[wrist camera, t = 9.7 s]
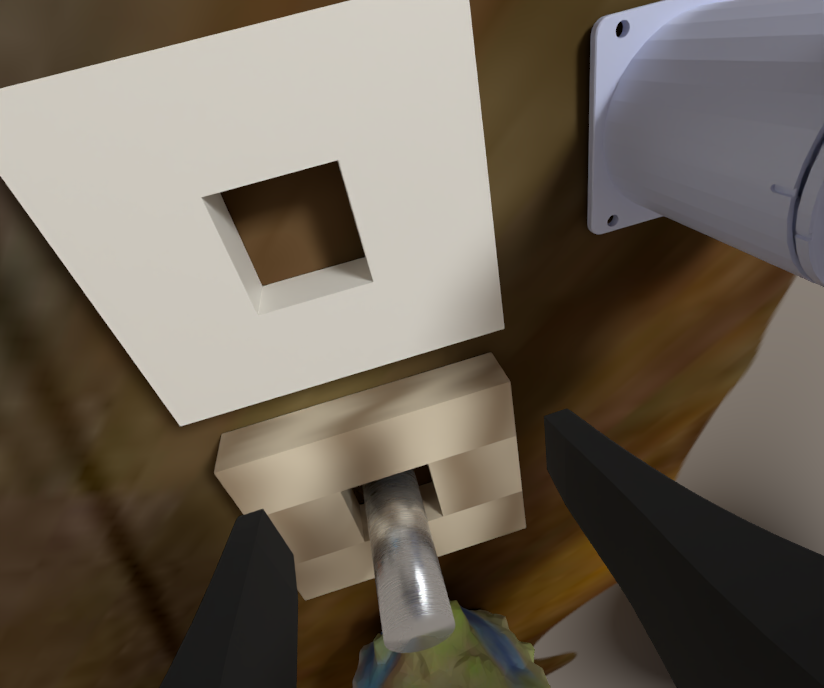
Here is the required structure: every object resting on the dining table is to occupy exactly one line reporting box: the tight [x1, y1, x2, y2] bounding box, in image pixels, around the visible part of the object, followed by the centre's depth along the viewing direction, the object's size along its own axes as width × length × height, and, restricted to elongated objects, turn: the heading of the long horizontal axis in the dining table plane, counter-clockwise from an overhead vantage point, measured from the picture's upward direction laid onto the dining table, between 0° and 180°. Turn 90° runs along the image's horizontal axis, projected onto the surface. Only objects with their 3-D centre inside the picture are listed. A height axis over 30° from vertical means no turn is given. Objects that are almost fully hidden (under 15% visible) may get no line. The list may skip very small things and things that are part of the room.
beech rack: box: [214, 352, 526, 601], centre depth 25 cm, size 14×12×2 cm
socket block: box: [0, 0, 505, 426], centre depth 16 cm, size 14×12×2 cm
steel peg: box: [362, 468, 455, 653], centre depth 22 cm, size 3×3×9 cm
